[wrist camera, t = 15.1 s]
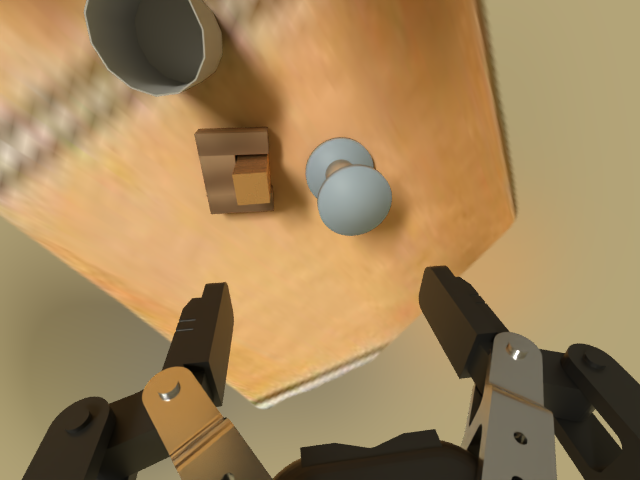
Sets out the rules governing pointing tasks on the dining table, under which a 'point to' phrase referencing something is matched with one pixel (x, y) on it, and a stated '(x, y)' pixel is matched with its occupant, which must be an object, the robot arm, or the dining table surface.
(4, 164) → the dining table surface
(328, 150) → the bobbin
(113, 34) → the cup
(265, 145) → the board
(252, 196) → the block
